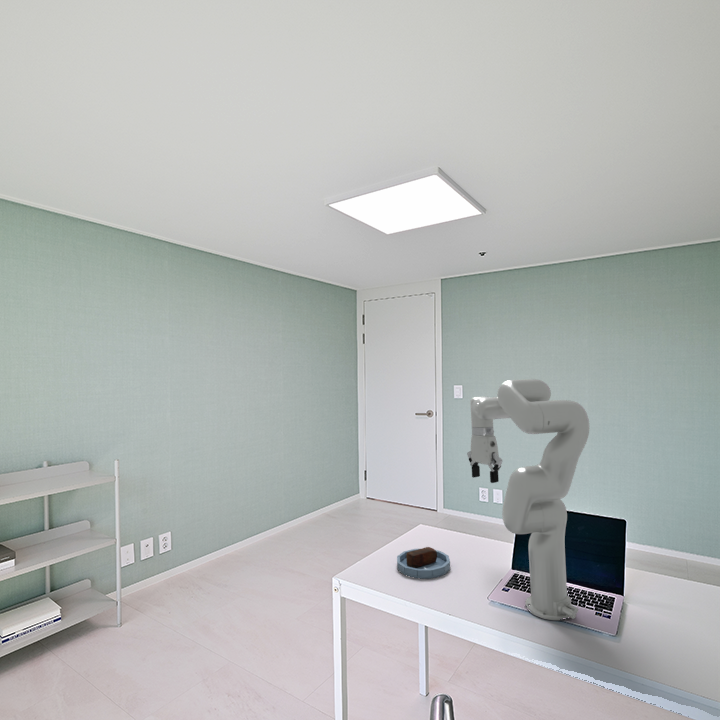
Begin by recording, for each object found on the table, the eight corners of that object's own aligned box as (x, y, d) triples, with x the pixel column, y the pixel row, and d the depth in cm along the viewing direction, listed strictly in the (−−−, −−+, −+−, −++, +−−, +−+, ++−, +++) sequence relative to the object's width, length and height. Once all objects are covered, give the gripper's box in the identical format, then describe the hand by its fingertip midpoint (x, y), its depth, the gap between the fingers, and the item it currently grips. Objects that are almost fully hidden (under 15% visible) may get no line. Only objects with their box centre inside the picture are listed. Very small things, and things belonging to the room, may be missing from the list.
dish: (460, 570, 155) (460, 562, 155) (415, 583, 148) (414, 574, 148) (430, 552, 172) (430, 545, 172) (388, 563, 164) (387, 555, 164)
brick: (413, 570, 155) (412, 556, 155) (406, 566, 159) (405, 552, 159) (437, 562, 161) (437, 548, 161) (430, 558, 164) (430, 545, 164)
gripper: (508, 433, 158) (510, 483, 158) (475, 428, 174) (477, 473, 173) (491, 435, 155) (493, 486, 154) (459, 430, 170) (461, 476, 170)
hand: (485, 479), depth 164 cm, fingers open, 9 cm apart
